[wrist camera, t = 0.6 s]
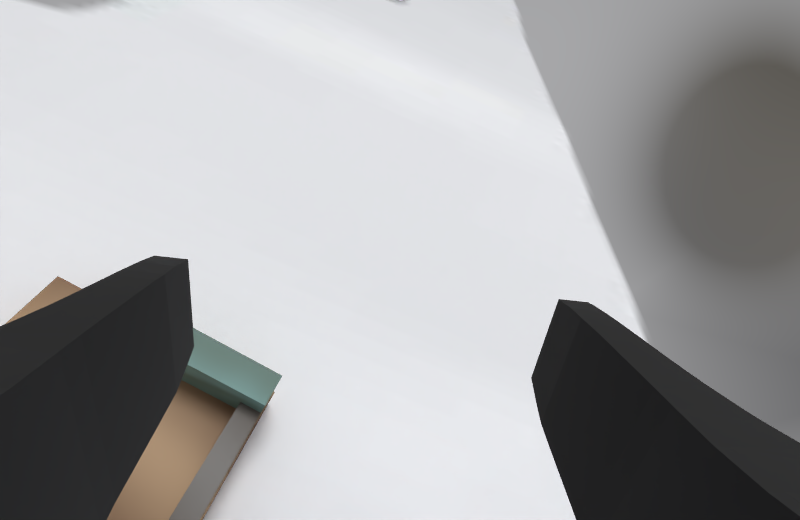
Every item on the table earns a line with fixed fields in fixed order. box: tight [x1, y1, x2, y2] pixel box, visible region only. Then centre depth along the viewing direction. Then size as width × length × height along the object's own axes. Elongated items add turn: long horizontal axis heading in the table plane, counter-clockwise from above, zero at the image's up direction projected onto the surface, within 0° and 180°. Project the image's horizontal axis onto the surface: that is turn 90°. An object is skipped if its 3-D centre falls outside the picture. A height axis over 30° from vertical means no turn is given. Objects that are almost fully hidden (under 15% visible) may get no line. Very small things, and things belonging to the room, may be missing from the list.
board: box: [6, 277, 282, 520], centre depth 17 cm, size 16×11×4 cm
